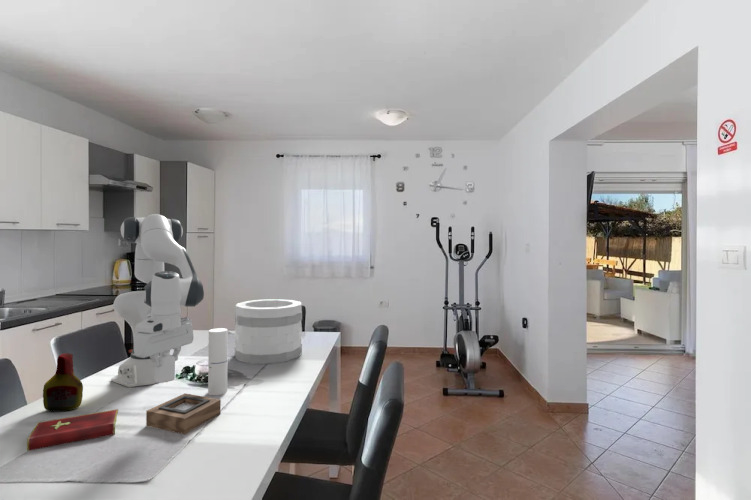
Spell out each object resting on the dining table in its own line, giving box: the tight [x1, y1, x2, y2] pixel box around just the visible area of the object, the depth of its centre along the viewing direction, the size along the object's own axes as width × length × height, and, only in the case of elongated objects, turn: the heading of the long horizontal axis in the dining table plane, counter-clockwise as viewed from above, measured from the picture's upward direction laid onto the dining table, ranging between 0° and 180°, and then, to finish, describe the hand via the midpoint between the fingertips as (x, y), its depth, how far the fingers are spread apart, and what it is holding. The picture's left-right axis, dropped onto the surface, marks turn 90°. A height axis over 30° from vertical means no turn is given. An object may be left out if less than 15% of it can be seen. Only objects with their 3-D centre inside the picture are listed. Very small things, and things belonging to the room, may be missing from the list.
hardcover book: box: [26, 408, 119, 452], centre depth 123 cm, size 12×21×4 cm, turn 119°
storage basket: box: [234, 298, 303, 365], centre depth 212 cm, size 35×35×27 cm
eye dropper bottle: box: [155, 350, 176, 384], centre depth 128 cm, size 4×6×12 cm
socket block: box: [145, 392, 222, 435], centre depth 134 cm, size 16×16×6 cm
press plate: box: [173, 402, 197, 411], centre depth 134 cm, size 8×8×1 cm
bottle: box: [42, 352, 84, 412], centre depth 140 cm, size 12×6×20 cm, turn 97°
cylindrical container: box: [207, 327, 229, 396], centre depth 158 cm, size 7×7×25 cm
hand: (165, 363), depth 129 cm, fingers closed on eye dropper bottle, 5 cm apart
